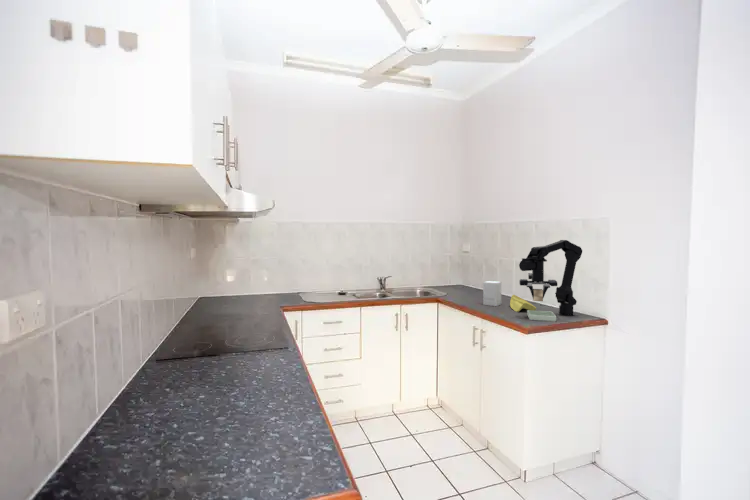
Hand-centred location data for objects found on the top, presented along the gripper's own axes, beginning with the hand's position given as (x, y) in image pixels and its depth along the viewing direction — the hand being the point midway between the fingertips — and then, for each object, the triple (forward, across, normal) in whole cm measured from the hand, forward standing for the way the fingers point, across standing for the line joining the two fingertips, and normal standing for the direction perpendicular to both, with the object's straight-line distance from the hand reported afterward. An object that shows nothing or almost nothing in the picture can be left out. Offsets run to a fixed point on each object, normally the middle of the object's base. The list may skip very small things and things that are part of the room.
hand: (537, 298), depth 203 cm
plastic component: (+11, +7, -21) cm, 25 cm away
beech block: (+1, 0, 0) cm, 1 cm away
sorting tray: (+11, -2, +1) cm, 11 cm away
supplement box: (+11, +24, -31) cm, 41 cm away
